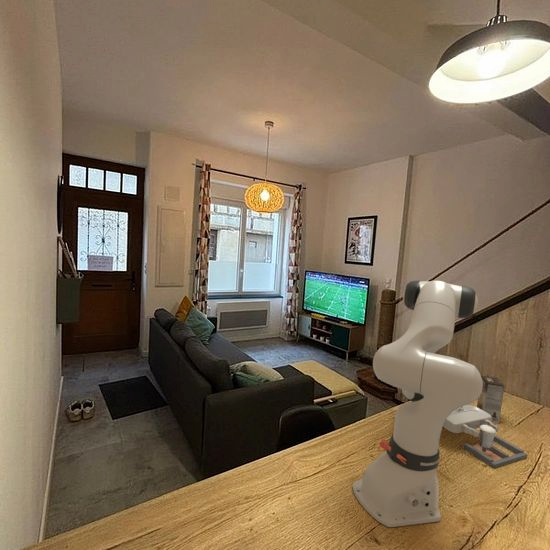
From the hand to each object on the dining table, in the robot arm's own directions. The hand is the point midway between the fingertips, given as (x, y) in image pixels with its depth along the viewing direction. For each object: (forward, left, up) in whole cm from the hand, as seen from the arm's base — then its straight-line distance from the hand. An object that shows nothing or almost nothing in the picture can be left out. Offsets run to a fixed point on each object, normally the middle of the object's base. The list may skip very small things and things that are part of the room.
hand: (488, 432), depth 105 cm
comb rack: (+4, 0, -8) cm, 9 cm away
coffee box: (+28, +17, -8) cm, 34 cm away
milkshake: (0, 0, -7) cm, 7 cm away
